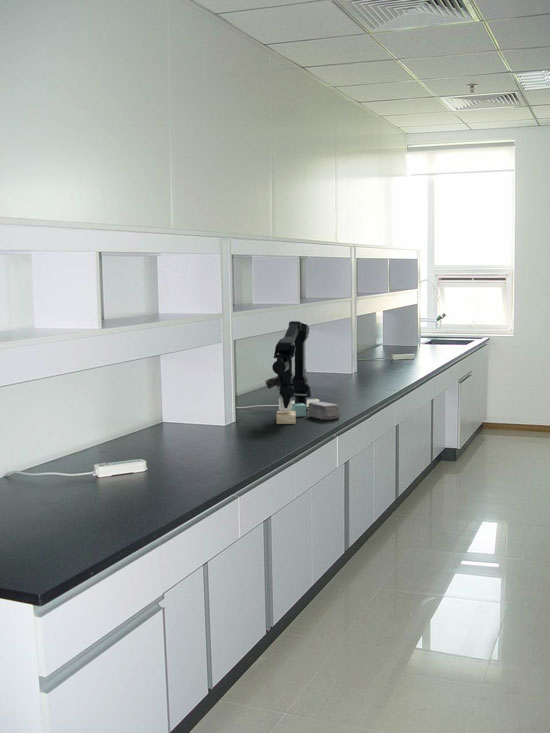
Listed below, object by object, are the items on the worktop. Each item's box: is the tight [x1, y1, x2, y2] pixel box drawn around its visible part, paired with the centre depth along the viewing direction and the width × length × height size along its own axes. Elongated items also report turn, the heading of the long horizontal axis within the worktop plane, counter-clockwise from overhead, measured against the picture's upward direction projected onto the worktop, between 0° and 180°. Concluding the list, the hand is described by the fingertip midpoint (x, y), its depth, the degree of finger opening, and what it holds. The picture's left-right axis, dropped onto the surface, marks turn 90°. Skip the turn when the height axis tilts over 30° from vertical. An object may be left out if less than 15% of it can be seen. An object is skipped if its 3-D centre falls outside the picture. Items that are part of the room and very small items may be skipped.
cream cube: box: [278, 396, 292, 411], centre depth 345 cm, size 5×5×5 cm
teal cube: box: [291, 403, 307, 418], centre depth 359 cm, size 5×5×5 cm
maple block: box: [276, 410, 297, 425], centre depth 345 cm, size 8×8×4 cm
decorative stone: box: [307, 400, 341, 421], centre depth 353 cm, size 15×7×10 cm
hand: (285, 407), depth 345 cm, fingers closed on cream cube, 5 cm apart
